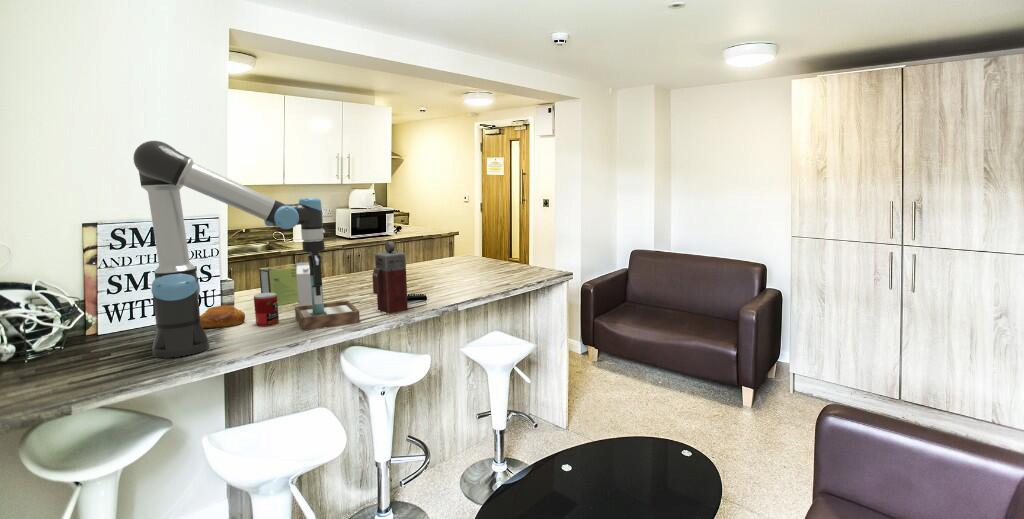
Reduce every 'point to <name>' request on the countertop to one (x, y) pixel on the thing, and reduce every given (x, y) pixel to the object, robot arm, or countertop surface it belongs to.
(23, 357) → the countertop surface
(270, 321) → the canned food
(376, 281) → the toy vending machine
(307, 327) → the box
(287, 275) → the protein box
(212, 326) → the croissant
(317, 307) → the peg
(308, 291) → the milk carton
